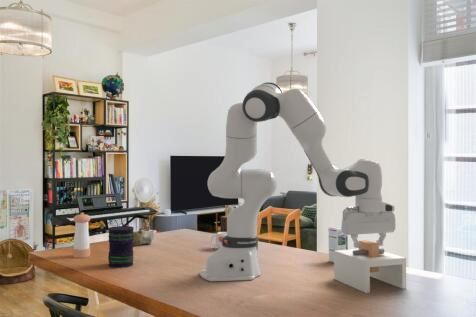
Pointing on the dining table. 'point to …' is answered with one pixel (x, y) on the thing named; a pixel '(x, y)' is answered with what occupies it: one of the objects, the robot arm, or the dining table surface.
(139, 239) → the ceramic sculpture
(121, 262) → the storage jar
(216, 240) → the mug
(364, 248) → the notched wooden block
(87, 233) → the salt shaker
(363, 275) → the shelf
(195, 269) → the dining table surface
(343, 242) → the syrup box
